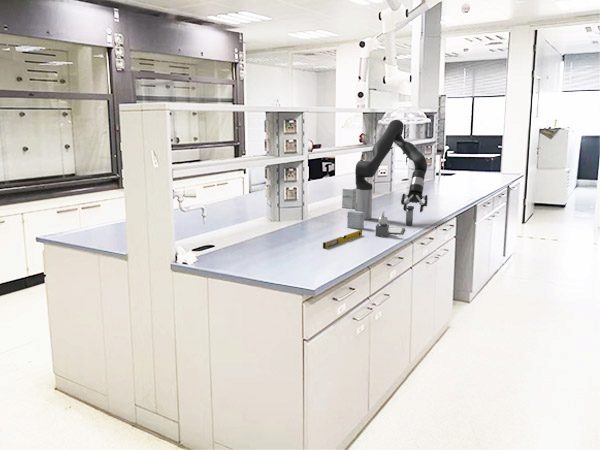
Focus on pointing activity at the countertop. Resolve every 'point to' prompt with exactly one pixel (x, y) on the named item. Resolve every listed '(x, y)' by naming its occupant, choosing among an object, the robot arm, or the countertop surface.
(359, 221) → the medicine box
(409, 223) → the salt shaker
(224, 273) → the countertop surface
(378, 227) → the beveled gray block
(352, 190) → the supplement box
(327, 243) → the spirit level
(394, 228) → the mat
